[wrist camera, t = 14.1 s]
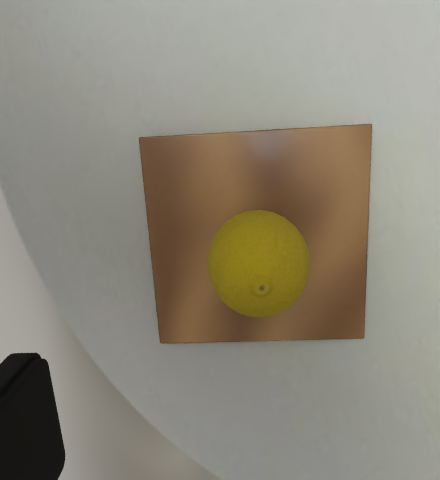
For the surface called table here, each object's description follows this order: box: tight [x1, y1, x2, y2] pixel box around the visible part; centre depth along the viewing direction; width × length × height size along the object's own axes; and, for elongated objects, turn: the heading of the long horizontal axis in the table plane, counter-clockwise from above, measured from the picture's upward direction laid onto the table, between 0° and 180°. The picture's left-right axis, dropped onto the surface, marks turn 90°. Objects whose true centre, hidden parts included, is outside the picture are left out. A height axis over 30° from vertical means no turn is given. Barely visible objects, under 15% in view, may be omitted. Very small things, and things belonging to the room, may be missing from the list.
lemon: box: [208, 210, 310, 317], centre depth 22 cm, size 6×6×8 cm
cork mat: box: [139, 124, 372, 343], centre depth 26 cm, size 14×14×1 cm
